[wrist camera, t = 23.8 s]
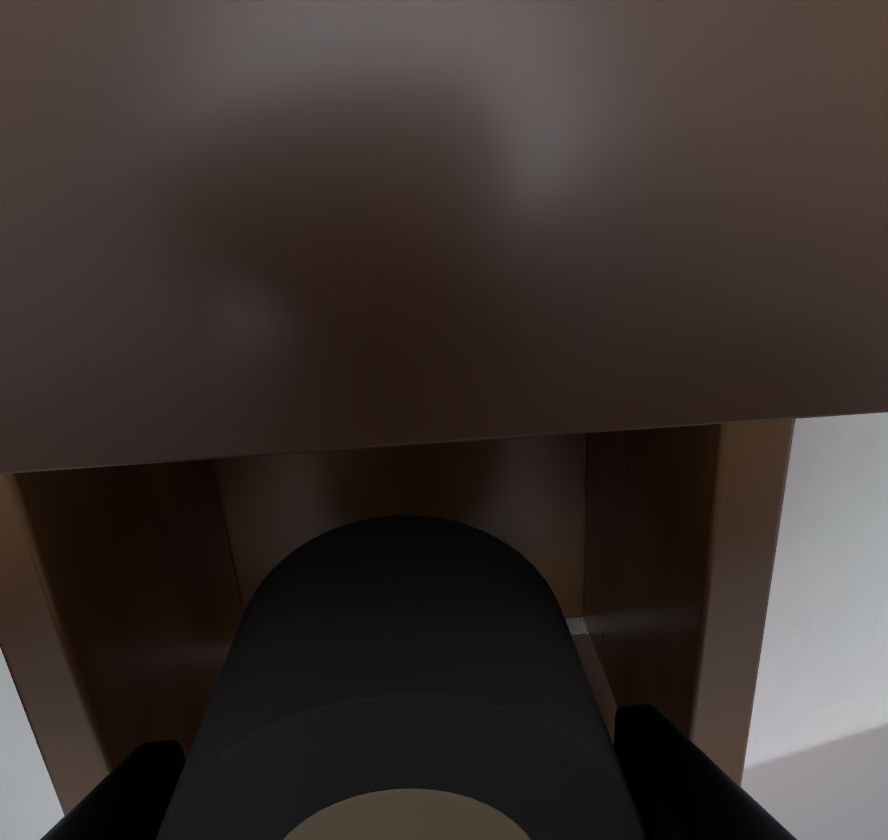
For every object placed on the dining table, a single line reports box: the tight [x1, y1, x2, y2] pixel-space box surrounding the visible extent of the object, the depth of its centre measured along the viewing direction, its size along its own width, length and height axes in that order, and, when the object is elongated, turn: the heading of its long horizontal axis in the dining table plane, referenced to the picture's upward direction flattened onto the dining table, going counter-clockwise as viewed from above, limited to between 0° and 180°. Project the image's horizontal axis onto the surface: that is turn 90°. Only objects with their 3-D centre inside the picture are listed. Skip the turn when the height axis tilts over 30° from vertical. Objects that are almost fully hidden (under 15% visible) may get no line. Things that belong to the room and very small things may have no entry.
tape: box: [155, 515, 646, 840], centre depth 8 cm, size 5×5×4 cm
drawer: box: [0, 419, 795, 815], centre depth 11 cm, size 17×10×7 cm, turn 3°
